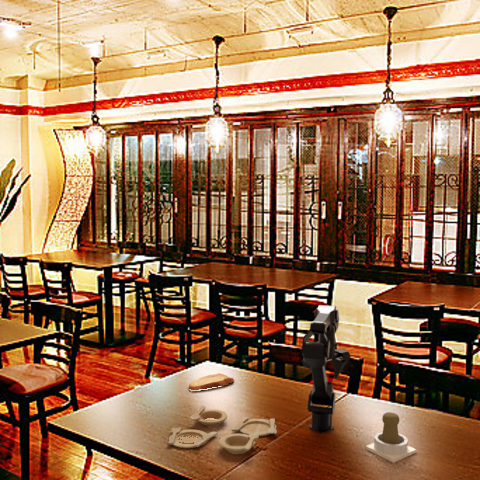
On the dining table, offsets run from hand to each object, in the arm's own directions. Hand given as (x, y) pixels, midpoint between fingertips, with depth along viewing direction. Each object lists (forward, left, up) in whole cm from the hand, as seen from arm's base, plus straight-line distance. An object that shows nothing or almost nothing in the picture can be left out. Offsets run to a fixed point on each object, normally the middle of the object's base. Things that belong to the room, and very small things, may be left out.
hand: (326, 381), depth 203 cm
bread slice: (-16, +52, -14) cm, 56 cm away
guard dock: (-3, -32, -13) cm, 34 cm away
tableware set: (-39, +9, -14) cm, 42 cm away
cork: (-3, -31, -12) cm, 34 cm away
